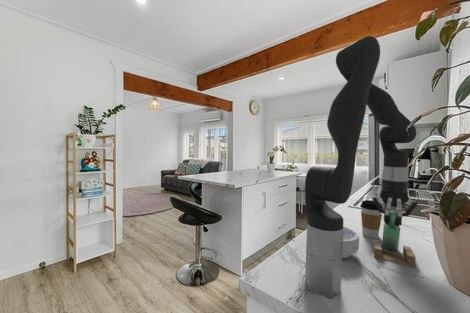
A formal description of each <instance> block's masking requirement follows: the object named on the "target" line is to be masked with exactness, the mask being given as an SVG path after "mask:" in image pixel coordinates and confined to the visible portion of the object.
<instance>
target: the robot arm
mask: <svg viewBox="0 0 470 313" xmlns="http://www.w3.org/2000/svg"><path fill="white" fill-rule="evenodd" d="M380 57H381V46H380V43H379V40H378V39H377V38H376V37H374V36H372V35H368V36H364V37H362V38H359V39H358V40H356V41H354V42H353V43H351V44H349V45H347V46H345V47H343V48H342V49H341V50H339V51H338V52H337V54H336V57H335V64H336V67H337V69H338V71H339V73H340V74H341V75H342V77H343V78H344V79H345V80H346V83H345V84H344V86H342V88H341V89H340V91H339V92H338V93H337V94H336V96H335V97H334V99H333V101H332V103H331V105H330V109H329V113H328V117H327V121H326V122H327V124H326V125H327V126H326V127H327V130H328V132H329V135H330V136H331V139H332V141H333V143H334V145H335V147H336V150H337V164H336V167H332V166H331V167H330V166H321V165H316V166H312V167H310V168H309V169H308V171H307V173H306V176H305V179H304V181H305V182H304V198H305V200H304V201H305V203H304V204H305V205H304V206H305V207H304V208H305V215H306V240H305V241H306V242H305V244H306V245H305V246H306V247H305V248H306V250H305V277H304V278H305V279H304V280H305V284H306V286H307V291H310V292H313V293H316V294H318V295H319V294H320V295H322V296H324V297H328V298H330V299H333V298H334V296H336V295H339V293H340V292H341V291H342V270H343V269H342V267H343V266H342V265H343V259H342V244H343V227H344V217H343V216H342V215H341V214H340V213H339V212H337V211H336V210H334V209H333V208H331V207H330V205H328V204H327V202H329V203H334V204H341V205H343V204H346V202H348V200H349V198H350V196H351V194H352V193H351V192H352V188H353V183H354V174H355V167H356V159H357V158H356V156H357V150H358V146H359V140H360V136H361V132H362V128H363V124H364V120H365V116H366V110H367V107H368V109H369V111H370V112H371V114H372V116H373V118H374V120H375V121H376V122H377V123H378V124H379V125H383V126H382V127H381V128H380V130H379V133H378V138H379V141H380V145H381V150H382V153H383V168H382V174H381V190H380V191H381V192H380V193H379V195H373V196H372V197H371V199H372V201H374V203H375V205H376V207H377V208H378V210H379V212H380V213H382V215H383V222H384V224H385V223H386V225H389V211H391V207H395V208H396V212H397V220H396V227H401V226H402V221H403V217H409V216H410V215H411V213H412V212H413V211H414V209H415V208H416V207H417V205H418V202H417V201H416V200H413V199H410V197H409V195H408V187H409V153H408V152H407V151H406V150H403V149H399V148H398V147H397V145H396V144H409V143H412V142H413V141H414V140H415V139H416V137H417V129H416V127H415V124H413V126H411V127H410V128H408V132H407V131H406V128H407V126H408V125H409V124H410V123H411V122H412V121H411V120H410V119H408V117H406V115H404V114H403V113H402V112H401V111H400V110H399V108H398V106H397V104H396V102H395V100H394V98H393V97H392V96H391V94H390V93H388V92H387V91H386V90H384V89H383V88H381V87H379V86H377V85H375V84H374V83H372V82H373V80H374V76H375V74H376V71H377V68H378V65H379V62H380ZM408 134H409V135H408ZM407 166H408V168H407ZM381 200H382V202H383V203H384V204H385V206H384V208H383V209H382V208H381V206H380V204H379V203H381ZM406 203H407V206H406V208H405V210H404V211H403V206H404V205H405V204H406Z"/></svg>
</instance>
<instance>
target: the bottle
mask: <svg viewBox="0 0 470 313" xmlns="http://www.w3.org/2000/svg"><path fill="white" fill-rule="evenodd" d="M396 220H397V210H390V211H389V225H386V223H385V222H384V224H383V229H382V230H383V231H382V239H381V240H382V241H381V243H382V244H381V248H382V249H383V250H388V251H393V252H398V251H399V246H400V245H399V244H400V235H401V226H399V227H396Z"/></svg>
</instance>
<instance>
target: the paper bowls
mask: <svg viewBox="0 0 470 313" xmlns="http://www.w3.org/2000/svg"><path fill="white" fill-rule="evenodd" d="M359 248H360V236H359V234H358V232H356V231H355V230H354V229H351V228H349V227H345V226H343V244H342V260H343V259H348V258H349V257H351V256H352V254H356V253H357V252H358V251H359Z"/></svg>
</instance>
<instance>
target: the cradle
mask: <svg viewBox="0 0 470 313" xmlns="http://www.w3.org/2000/svg"><path fill="white" fill-rule="evenodd" d="M381 243H382V242H381V240H377V239H373V255H374V259H375V258H376V259H380V260H384V261H389V262H393V263H396V264H401V265H404V266H405V265H406V266H410V267H414V268H415V267H416V255H415V253H414V251H413V249H412V247H411V246H409V245H408V246H406V245H403V249H402V252H398V251H396V252H393V251H388V250H386V249H384V248H383V247H382V244H381Z"/></svg>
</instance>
